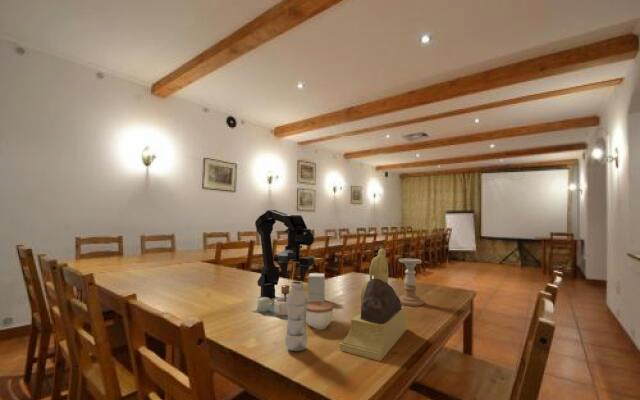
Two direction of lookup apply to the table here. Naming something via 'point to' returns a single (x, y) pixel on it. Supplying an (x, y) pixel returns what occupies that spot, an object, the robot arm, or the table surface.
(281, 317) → the slate tray
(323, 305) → the lidded jar
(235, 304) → the table surface
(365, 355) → the statue with dark rock
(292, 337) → the plastic bottle
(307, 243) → the robot arm
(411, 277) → the candle holder
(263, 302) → the sage green dome
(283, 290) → the coffee tamper
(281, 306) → the octagonal white frame
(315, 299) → the supplement box
